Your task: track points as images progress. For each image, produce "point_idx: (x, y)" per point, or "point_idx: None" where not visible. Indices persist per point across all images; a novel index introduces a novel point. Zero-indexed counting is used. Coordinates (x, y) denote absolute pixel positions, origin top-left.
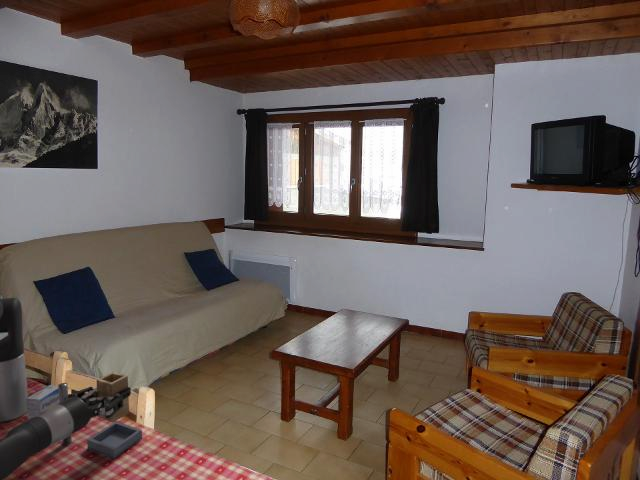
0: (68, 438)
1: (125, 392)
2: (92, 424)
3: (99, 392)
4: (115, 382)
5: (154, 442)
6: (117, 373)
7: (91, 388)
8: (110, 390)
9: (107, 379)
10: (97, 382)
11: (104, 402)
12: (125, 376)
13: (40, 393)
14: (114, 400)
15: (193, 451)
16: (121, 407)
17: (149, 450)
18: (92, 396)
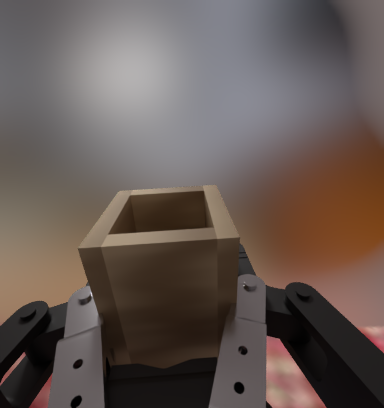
0: None
1: (245, 258)
2: (47, 383)
3: (122, 317)
4: (230, 221)
5: (272, 351)
6: (152, 190)
7: (42, 314)
8: (226, 280)
9: (124, 228)
10: (92, 263)
11: (170, 353)
12: (212, 188)
13: None
14: (333, 338)
15: (374, 328)
16: (314, 342)
17: (300, 386)
18: (117, 390)
